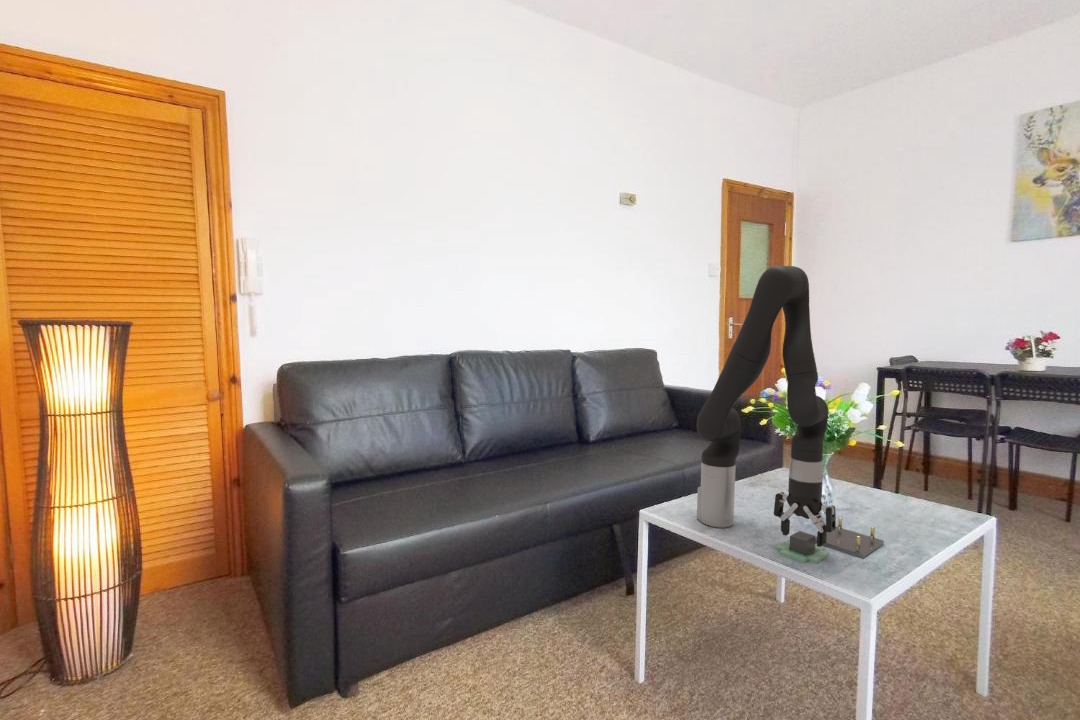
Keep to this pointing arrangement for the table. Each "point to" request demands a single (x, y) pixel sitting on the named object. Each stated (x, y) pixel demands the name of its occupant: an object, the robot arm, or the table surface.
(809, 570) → the table surface
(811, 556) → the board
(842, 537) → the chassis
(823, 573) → the table surface
